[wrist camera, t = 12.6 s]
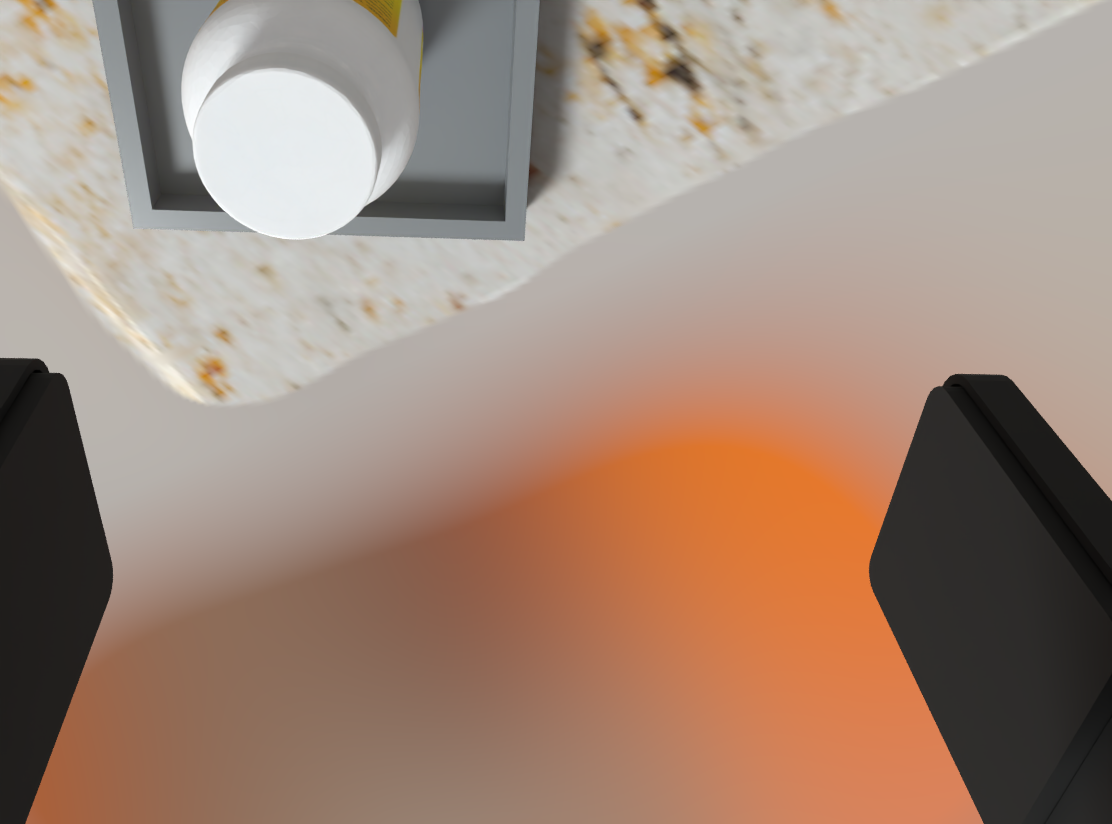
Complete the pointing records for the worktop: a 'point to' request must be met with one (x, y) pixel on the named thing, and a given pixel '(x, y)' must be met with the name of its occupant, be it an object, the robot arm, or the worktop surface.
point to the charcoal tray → (441, 144)
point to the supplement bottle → (303, 108)
